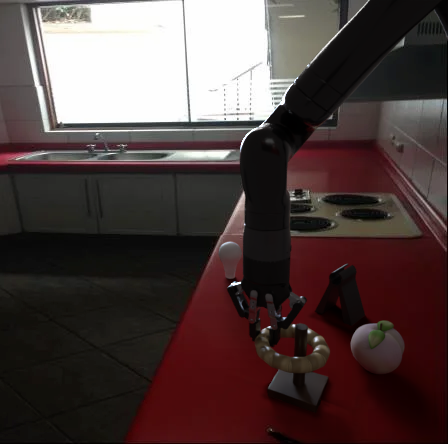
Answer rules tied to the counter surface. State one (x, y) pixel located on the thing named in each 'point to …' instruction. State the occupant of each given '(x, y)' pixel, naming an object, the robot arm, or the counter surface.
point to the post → (299, 379)
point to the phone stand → (343, 295)
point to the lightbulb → (230, 258)
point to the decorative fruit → (378, 347)
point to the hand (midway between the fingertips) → (264, 341)
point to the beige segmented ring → (293, 363)
